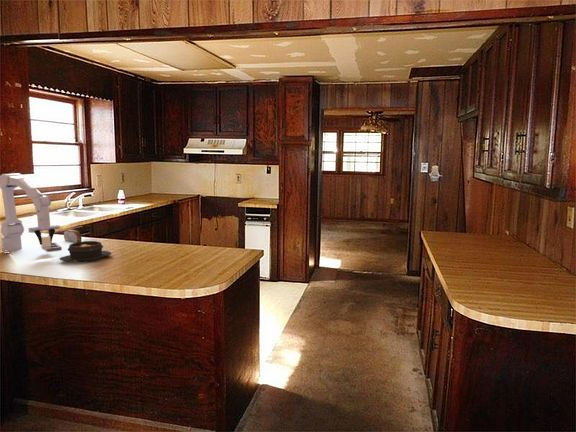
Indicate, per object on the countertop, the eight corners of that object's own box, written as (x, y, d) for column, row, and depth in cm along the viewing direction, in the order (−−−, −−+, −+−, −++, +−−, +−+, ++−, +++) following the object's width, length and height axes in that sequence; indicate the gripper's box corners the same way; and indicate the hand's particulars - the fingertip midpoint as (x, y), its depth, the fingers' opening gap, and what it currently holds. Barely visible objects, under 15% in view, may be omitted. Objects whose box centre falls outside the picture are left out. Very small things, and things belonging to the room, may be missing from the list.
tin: (82, 244, 263) (81, 230, 262) (77, 245, 261) (76, 231, 259) (68, 241, 271) (67, 228, 270) (63, 242, 269) (62, 229, 267)
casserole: (66, 267, 212) (65, 250, 211) (55, 260, 225) (53, 244, 224) (117, 258, 229) (116, 243, 228) (103, 252, 243) (102, 237, 241)
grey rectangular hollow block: (47, 253, 239) (47, 247, 238) (42, 249, 250) (42, 242, 250) (61, 252, 243) (61, 245, 242) (56, 247, 255) (55, 241, 254)
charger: (42, 249, 230) (41, 237, 229) (41, 248, 234) (39, 236, 233) (51, 248, 232) (50, 236, 231) (49, 246, 236) (48, 235, 235)
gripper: (29, 220, 223) (31, 246, 225) (60, 218, 232) (62, 243, 234) (26, 219, 228) (29, 244, 230) (57, 216, 237) (59, 240, 239)
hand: (45, 243), depth 232 cm, fingers closed on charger, 4 cm apart
